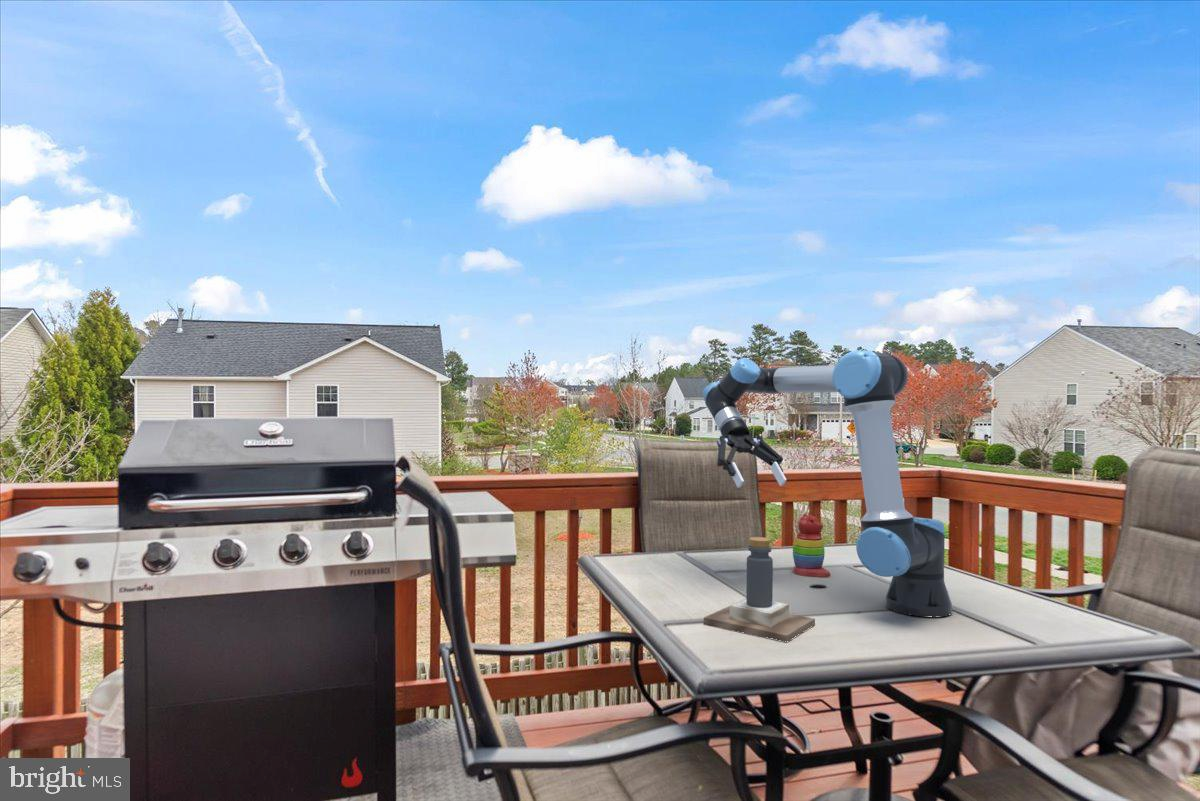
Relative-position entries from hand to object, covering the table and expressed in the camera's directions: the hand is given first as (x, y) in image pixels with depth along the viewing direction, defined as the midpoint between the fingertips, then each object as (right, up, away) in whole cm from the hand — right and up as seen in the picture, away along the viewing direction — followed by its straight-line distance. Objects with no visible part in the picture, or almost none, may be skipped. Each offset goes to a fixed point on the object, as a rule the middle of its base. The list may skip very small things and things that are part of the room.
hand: (762, 483), depth 187 cm
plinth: (-7, -29, -27) cm, 40 cm away
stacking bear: (+21, -31, +26) cm, 45 cm away
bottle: (-7, -25, -27) cm, 37 cm away
